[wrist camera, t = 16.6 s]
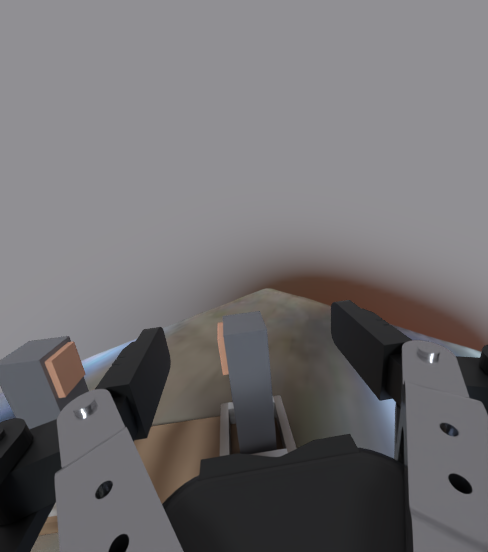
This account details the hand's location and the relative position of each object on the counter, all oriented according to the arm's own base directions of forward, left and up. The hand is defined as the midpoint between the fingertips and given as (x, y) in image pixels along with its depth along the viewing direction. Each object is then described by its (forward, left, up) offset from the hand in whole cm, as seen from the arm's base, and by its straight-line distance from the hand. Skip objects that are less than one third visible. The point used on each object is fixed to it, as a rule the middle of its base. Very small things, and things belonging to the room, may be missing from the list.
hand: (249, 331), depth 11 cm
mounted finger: (+22, +5, -21) cm, 31 cm away
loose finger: (+7, -8, -21) cm, 24 cm away
